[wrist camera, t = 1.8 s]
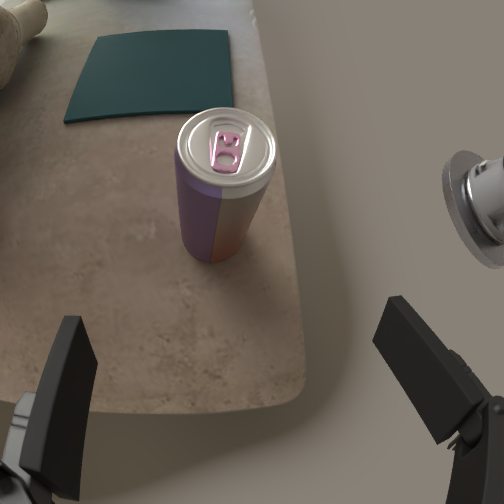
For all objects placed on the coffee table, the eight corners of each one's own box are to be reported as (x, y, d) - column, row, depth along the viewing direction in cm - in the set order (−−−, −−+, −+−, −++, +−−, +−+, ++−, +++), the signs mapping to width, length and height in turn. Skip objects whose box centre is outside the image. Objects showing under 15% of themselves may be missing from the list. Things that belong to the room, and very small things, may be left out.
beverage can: (178, 261, 29) (164, 182, 15) (185, 205, 31) (183, 100, 17) (240, 267, 30) (280, 195, 16) (243, 211, 32) (280, 112, 18)
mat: (227, 32, 41) (227, 30, 40) (232, 114, 35) (233, 110, 35) (98, 39, 37) (97, 36, 36) (64, 123, 31) (63, 120, 31)
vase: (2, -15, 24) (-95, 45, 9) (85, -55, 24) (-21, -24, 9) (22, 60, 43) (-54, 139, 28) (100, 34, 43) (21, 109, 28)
